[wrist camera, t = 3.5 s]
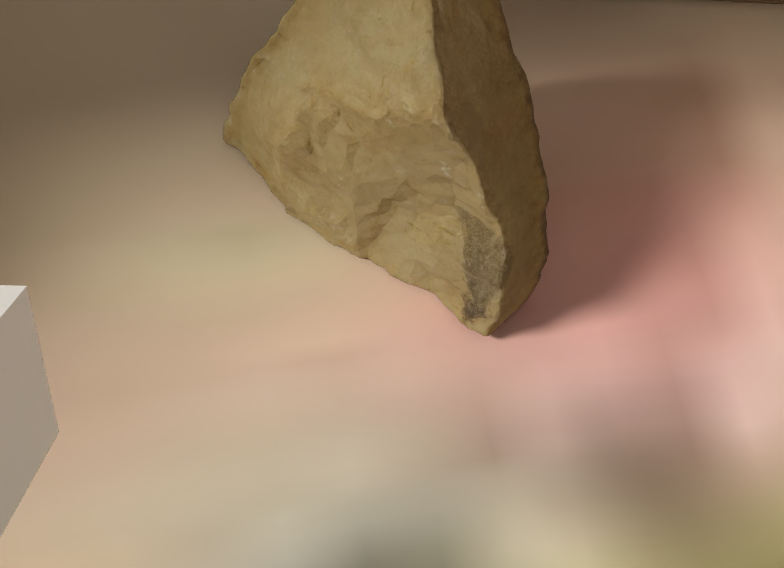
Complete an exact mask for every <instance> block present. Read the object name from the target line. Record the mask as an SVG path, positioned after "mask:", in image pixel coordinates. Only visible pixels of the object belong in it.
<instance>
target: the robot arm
mask: <svg viewBox="0 0 784 568" xmlns="http://www.w3.org/2000/svg"><path fill="white" fill-rule="evenodd" d="M58 433H59V429H58V424H57V420H56V415H55V411H54V406H53V402H52V397H51V393H50V388H49V384H48V379H47V375H46V370H45V366H44V361H43V357H42V352H41V348H40V343H39V339H38V334H37V330H36V325H35V321H34V316H33V312H32V307H31V303H30V298H29V294H28V289H27V286H13V285H0V537H1V535H2V534H3V532H4V530H5V528H6V526H7V525H8V523H9V521H10V519H11V517H12V516H13V514H14V512H15V510H16V508H17V507H18V505H19V503H20V501H21V499H22V498H23V496H24V494H25V492H26V490H27V489H28V487H29V485H30V483H31V481H32V480H33V478H34V476H35V474H36V472H37V471H38V469H39V467H40V465H41V463H42V462H43V460H44V458H45V456H46V454H47V453H48V451H49V449H50V447H51V445H52V443H53V442H54V440H55V438H56V436H57V434H58Z"/></svg>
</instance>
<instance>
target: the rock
mask: <svg viewBox="0 0 784 568" xmlns="http://www.w3.org/2000/svg"><path fill="white" fill-rule="evenodd" d="M229 111H230V116H229V118H228V119H227V120H226V121H225V122H224V131H223V139H224V141H225V142H226V143H227V144H230V145H232V146H234V147H236V148H238V149H239V150H240V151H242V153H243V154H244V155H245V157H246V158H247V159H248V161H249V162H250V163H251V164H252V166H253V167H254V168H255V169H256V171H257V172H258V173H259V174H261V175H262V176H263V178H264V179H265V181H266V183H267V185H268V186H269V188H270V190H271V191H272V192H273V193H274V194H275V196H276V197H277V198H278V199H279V200H280V201H281V202H282V203H284V204H285V207H286V208H285V210H286V212H287V213H288V214H290V215H291V216H294V217H296V218H297V219H299V220H301V221H302V222H304V223H306V224H308V225H309V226H310V227H312V228H313V229H314V230H315V231H317V232H318V233H319V234H320V235H322V236H323V237H324V238H325V239H326V240H327V241H329V242H330V243H332V244H333V245H337V246H341V247H343V248H344V249H346V250H348V251H349V252H350V253H351V254H354V255H356V256H358V257H360V258H368V259H370V260H371V261H373V262H374V263H375V264H377V265H379V266H381V267H383V268H385V269H386V270H387V272H388V273H389V274H390V275H391V276H393V277H395V278H398V279H400V280H402V281H404V282H406V283H408V284H411V285H414V286H418V287H421V288H423V289H426V290H428V291H430V292H432V293H434V294H436V295H437V297H438V298H439V299H440V300H441V301H442V302H443V304H444V305H445V306H446V307H447V308H448V309H449V310H450V311H452V312H453V313H454V314H455V315H456V317H457V318H458V319H459V321H460V322H461V323H463V324H464V325H465V326H466V327H467V328H469V329H471V330H474V331H476V332H478V333H480V334H482V335H483V336H489V335H490V334H492V333H493V332H494V331H495V330H496V329H497V328H498V327H499V326H500V325H501V324H502V323H503V322H504V321H505V320H506V319H507V318H508V317H509V316H511V315H512V314H513V313H514V312H515V311H516V310H518V309H519V308H520V307H521V305H522V304H523V303H524V302H525V301H526V300H527V299H528V297H529V296H530V294H531V293H532V292H533V290H534V288H535V286H536V285H537V283H538V281H539V279H540V276H541V274H540V273H541V270H542V268H543V267H544V265H545V263H546V261H547V256H548V253H549V249H548V244H547V236H546V225H547V222H546V206H547V203H548V201H549V191H548V186H547V177H546V174H545V171H544V168H543V162H542V159H541V156H540V150H539V134H538V130H537V127H536V125H535V121H534V112H533V103H532V99H531V94H530V88H529V84H528V81H527V77H526V74H525V72H524V70H523V68H522V66H521V64H520V62H519V61H518V59H517V58H516V56H515V54H514V53H513V49H512V45H511V41H510V37H509V32H508V28H507V25H506V22H505V18H504V15H503V11H502V8H501V4H500V1H499V0H295V2H294V4H293V5H292V6H291V8H290V9H289V10H288V12H287V13H286V14H285V15H284V16H283V17H282V18H281V20H280V23H279V26H278V29H277V31H276V33H274V34H273V35H272V36H271V37H270V38H269V40H268V42H267V44H266V45H265V46H264V47H262V48H261V49H260V50H259V51H257V52H256V53H255V54H254V55H253V56H252V58H251V60H250V62H249V65H248V67H247V70H246V72H245V73H244V75H243V76H242V79H241V83H240V87H239V91H238V93H237V95H236V97H235V98H234V100H233V101H232V102H231V103H230V106H229Z"/></svg>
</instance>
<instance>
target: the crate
mask: <svg viewBox="0 0 784 568" xmlns="http://www.w3.org/2000/svg"><path fill="white" fill-rule="evenodd" d="M725 1H743V2H762V3H780V4H784V0H725Z"/></svg>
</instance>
